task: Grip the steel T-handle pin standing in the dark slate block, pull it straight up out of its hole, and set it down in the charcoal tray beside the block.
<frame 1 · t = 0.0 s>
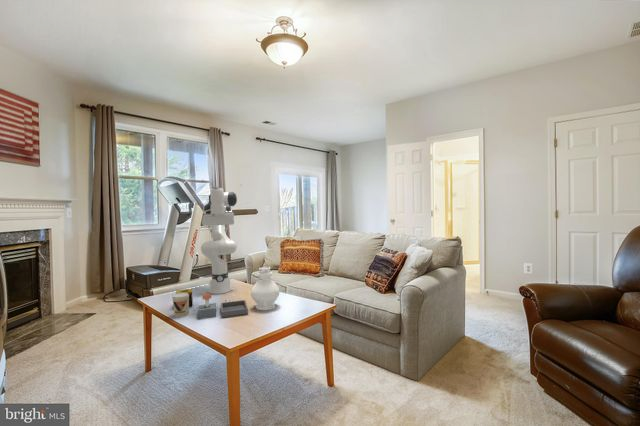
hand: (218, 232, 203), 48 cm above the table, tool pointing down, fingers open, 8 cm apart
pin: (207, 304, 183), in the hitch block
hitch block: (207, 314, 183), on the table
coffee cup: (181, 314, 185), on the table
tray: (234, 311, 188), on the table
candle: (184, 306, 201), on the table
decorative vase: (265, 307, 196), on the table
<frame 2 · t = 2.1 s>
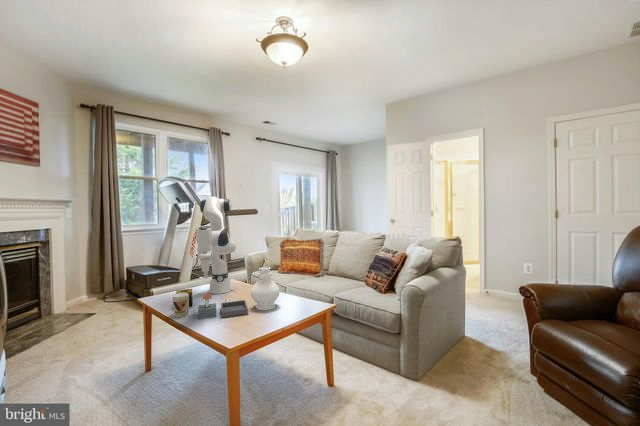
hand: (206, 276, 183), 23 cm above the table, tool pointing down, fingers open, 8 cm apart
nothing on the table moved.
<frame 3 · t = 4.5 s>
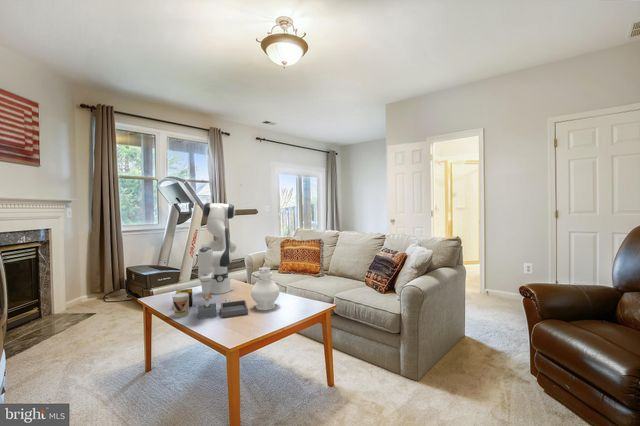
hand: (206, 297, 183), 10 cm above the table, tool pointing down, fingers closed on pin, 2 cm apart
pin: (207, 304, 183), in the hitch block, touching gripper
everything else where it was.
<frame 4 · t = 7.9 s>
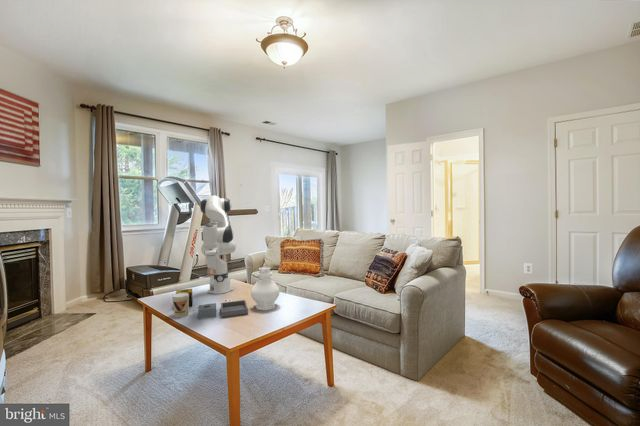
hand: (211, 273, 184), 25 cm above the table, tool pointing down, fingers closed on pin, 2 cm apart
pin: (212, 279, 184), point 21 cm above the table, touching gripper
everything else where it was.
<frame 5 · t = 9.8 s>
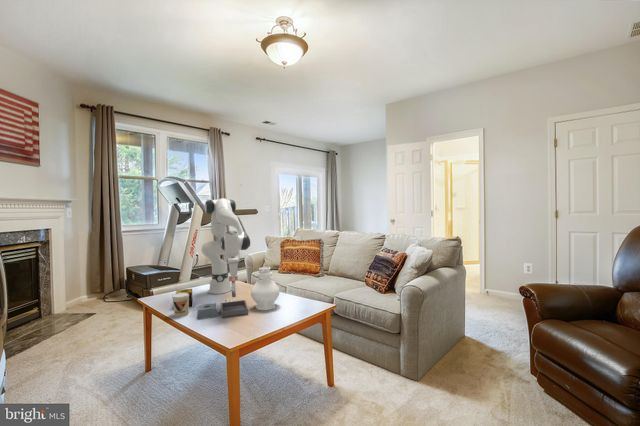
hand: (233, 280, 188), 20 cm above the table, tool pointing down, fingers closed on pin, 2 cm apart
pin: (233, 286, 188), point 15 cm above the table, touching gripper
everything else where it was.
when the fingers open (13 cm above the table, at t = 11.5 s): pin drops 2 cm, resting on tray.
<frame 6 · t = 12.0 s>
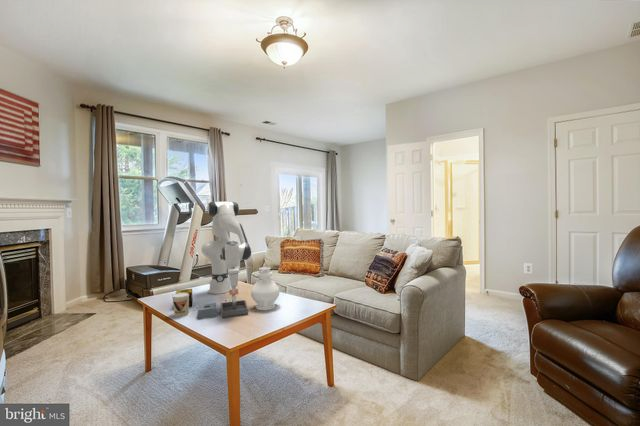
hand: (233, 290, 188), 13 cm above the table, tool pointing down, fingers open, 7 cm apart
pin: (233, 300, 188), in the tray, point 7 cm above the table
everything else where it was.
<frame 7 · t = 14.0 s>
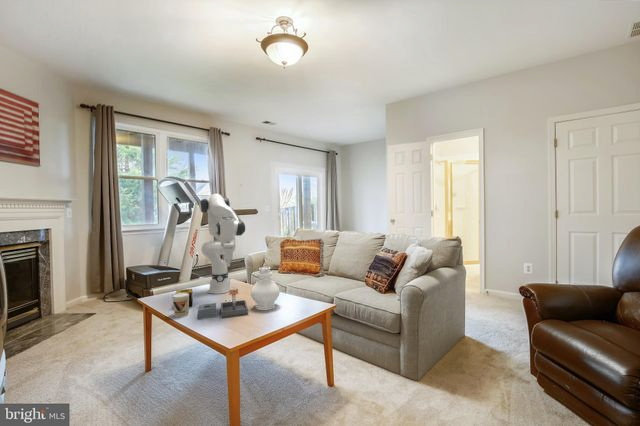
hand: (228, 264, 192), 28 cm above the table, tool pointing down, fingers open, 8 cm apart
nothing on the table moved.
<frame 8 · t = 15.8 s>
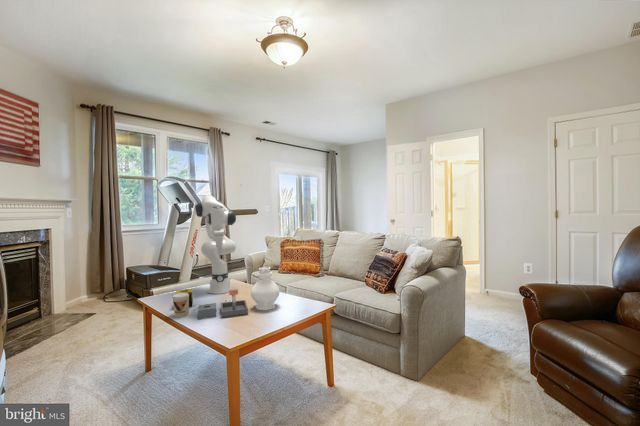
hand: (219, 252, 198), 35 cm above the table, tool pointing down, fingers open, 8 cm apart
nothing on the table moved.
at the end: pin inside the target area on the tray (0.1 cm from its centre), point 7.0 cm above the tray's base; the gripper is holding nothing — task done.
